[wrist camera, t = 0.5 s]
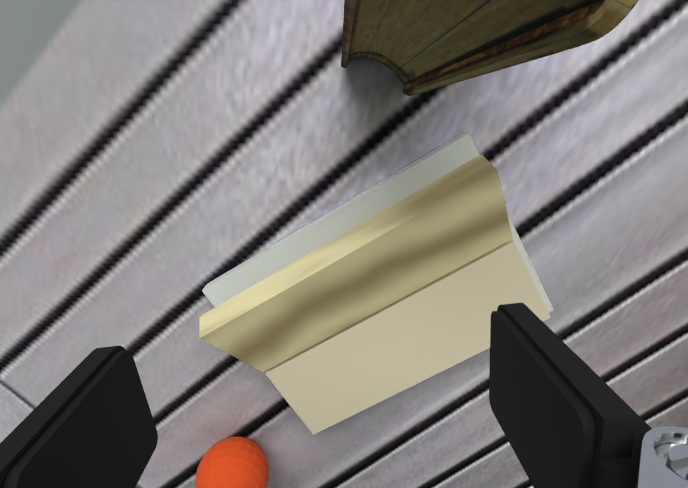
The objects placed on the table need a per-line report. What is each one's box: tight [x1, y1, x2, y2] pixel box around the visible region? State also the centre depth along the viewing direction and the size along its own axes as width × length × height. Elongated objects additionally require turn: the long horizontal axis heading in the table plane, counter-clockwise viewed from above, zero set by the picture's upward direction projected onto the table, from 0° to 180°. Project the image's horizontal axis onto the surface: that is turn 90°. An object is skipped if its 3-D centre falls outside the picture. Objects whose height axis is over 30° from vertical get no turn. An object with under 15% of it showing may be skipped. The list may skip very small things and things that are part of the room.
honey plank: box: [200, 154, 513, 372], centre depth 31 cm, size 8×24×2 cm, turn 121°
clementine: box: [195, 436, 268, 488], centre depth 39 cm, size 8×7×7 cm
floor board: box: [202, 132, 554, 435], centre depth 35 cm, size 18×26×4 cm
